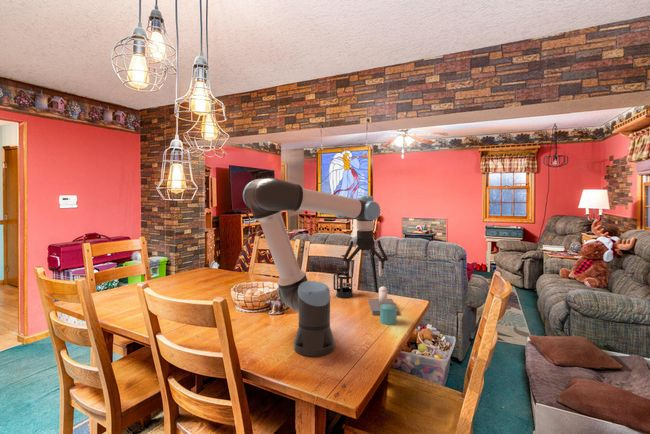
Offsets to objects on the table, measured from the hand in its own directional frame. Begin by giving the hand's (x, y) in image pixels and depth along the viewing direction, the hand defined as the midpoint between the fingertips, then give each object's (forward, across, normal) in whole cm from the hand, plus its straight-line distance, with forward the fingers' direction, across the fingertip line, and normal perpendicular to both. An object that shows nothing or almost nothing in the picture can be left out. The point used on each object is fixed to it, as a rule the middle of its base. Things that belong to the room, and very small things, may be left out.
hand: (365, 276), depth 150 cm
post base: (+19, -10, -11) cm, 24 cm away
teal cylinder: (+19, -9, +6) cm, 22 cm away
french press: (+19, +8, -32) cm, 38 cm away
